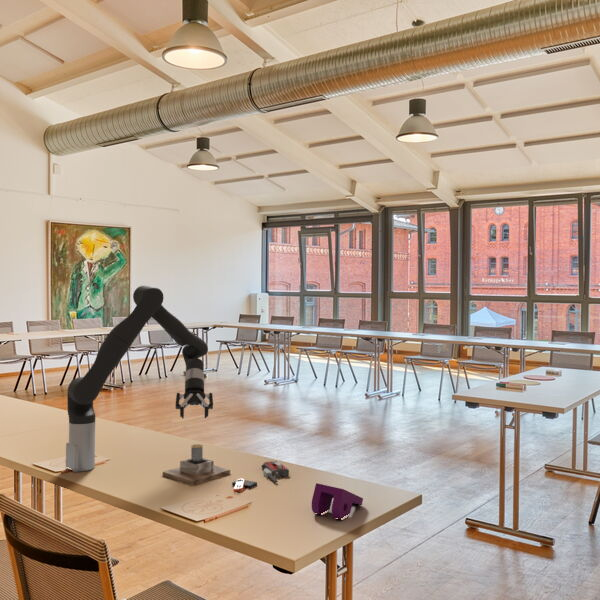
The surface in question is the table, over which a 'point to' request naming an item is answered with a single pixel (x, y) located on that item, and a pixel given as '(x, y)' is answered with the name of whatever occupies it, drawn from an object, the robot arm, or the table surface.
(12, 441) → the table surface
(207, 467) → the dock board
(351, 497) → the mounting bracket
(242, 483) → the multimeter
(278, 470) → the walkie-talkie
